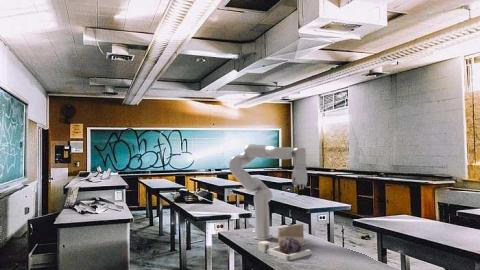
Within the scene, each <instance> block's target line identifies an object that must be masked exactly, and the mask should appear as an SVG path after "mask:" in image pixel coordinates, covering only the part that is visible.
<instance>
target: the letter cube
mask: <svg viewBox="0 0 480 270" xmlns="http://www.w3.org/2000/svg"><path fill="white" fill-rule="evenodd" d="M270 248H271V242H269V241H268V240H261V241H258V244H257V249H258V250H257V251H258V252H261V253H267V249H270Z"/></svg>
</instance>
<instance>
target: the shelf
mask: <svg viewBox="0 0 480 270" xmlns="http://www.w3.org/2000/svg"><path fill="white" fill-rule="evenodd" d="M285 238H293V239H295V240H297V241H299V243H300V246H304V245H306V244H307V243H306V242H304V224H303V223H299V224H293V225H289V226H284V227H278V228H277V245H275V247H278V246H282V244H283V243H284V239H285Z"/></svg>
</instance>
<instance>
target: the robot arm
mask: <svg viewBox="0 0 480 270" xmlns="http://www.w3.org/2000/svg"><path fill="white" fill-rule="evenodd" d="M243 151H244V152H243V153H241V154H236V155H233V156H232V157H231V158H230V160H229V162H228V166H229V172H230V173H231V174H232V176H233V177H234V178H235V179H236V180H237V182H238V183H239V184H241V186H242V187H243V188H244V189H245V190H246V191H247V192H249V193H254V195H253V205H254V224H255V225H254V230H252V233H254V234H253V236H252V238H253V239H255V240H260V241H268V240H271V239H272V238H273V236H272V234H270V207H269V202H271V200H272V199H273V193H272V191H271V190H270V188H269V187H268V186H267V185H266V184H265V183H264V181H262V180H261V179H260V178H259V177H256V176H251V174H249V172H248V171H246V170H245V169H244V167H246V166H247V165H249V164H250V163H252V161H253V160H255V159H256V158H259V159H261V158H263V159H275V160H278V159H279V160H290V159H291V160H292V159H293V169H292V174H291V184H292V185H293V187H295V188H296V189H297V196H304V188H305V187H306V186H307V183H308V173H307V172H308V170H307V164H306V162H307V161H306V158H307V157H306V148H305V147H290V146H287V147H282V146H281V147H279V146H278V147H277V146H271V145H267V144H266V145H265V144H253V143H252V144H251V143H250V144H248V145H246V146H245V147H244V150H243Z"/></svg>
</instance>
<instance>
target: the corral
mask: <svg viewBox="0 0 480 270" xmlns="http://www.w3.org/2000/svg"><path fill="white" fill-rule="evenodd" d="M277 246H278V245H277ZM311 252H312V251H311V249H304V250H300V251H299V252H297V253H293V254H289V255H287V254H284V253H281V251H280V246H278V247H276V246H275V247H272V248H271V247H270V249H267V252H266V254H267V255H271V256H274V257H276V258H279V259H282V260H285V261H292V260H296V259H299V258H304V257H306V256H310V255H311V254H312V253H311Z"/></svg>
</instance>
